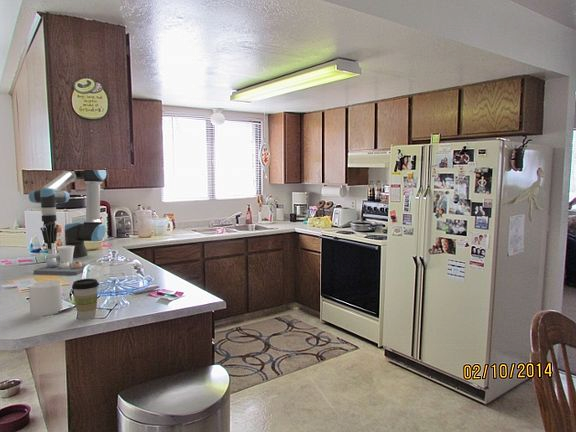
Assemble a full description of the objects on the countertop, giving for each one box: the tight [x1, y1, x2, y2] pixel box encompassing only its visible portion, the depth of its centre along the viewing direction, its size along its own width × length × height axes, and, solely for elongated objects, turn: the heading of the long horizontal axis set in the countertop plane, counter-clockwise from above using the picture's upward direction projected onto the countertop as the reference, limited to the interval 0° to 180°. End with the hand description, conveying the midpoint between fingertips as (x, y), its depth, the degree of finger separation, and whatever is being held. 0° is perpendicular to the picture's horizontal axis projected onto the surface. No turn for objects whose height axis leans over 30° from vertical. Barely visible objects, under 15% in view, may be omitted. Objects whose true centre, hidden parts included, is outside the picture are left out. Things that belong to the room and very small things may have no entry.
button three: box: [72, 261, 83, 269], centre depth 245 cm, size 5×5×5 cm
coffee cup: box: [71, 278, 100, 321], centre depth 168 cm, size 10×10×15 cm
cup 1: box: [28, 279, 63, 317], centre depth 175 cm, size 12×12×12 cm
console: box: [33, 263, 87, 276], centre depth 246 cm, size 18×26×2 cm
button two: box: [59, 261, 69, 269], centre depth 246 cm, size 5×5×5 cm
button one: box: [46, 257, 57, 267], centre depth 246 cm, size 5×5×5 cm
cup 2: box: [56, 245, 75, 264], centre depth 263 cm, size 10×10×11 cm
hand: (51, 254), depth 246 cm, fingers closed
